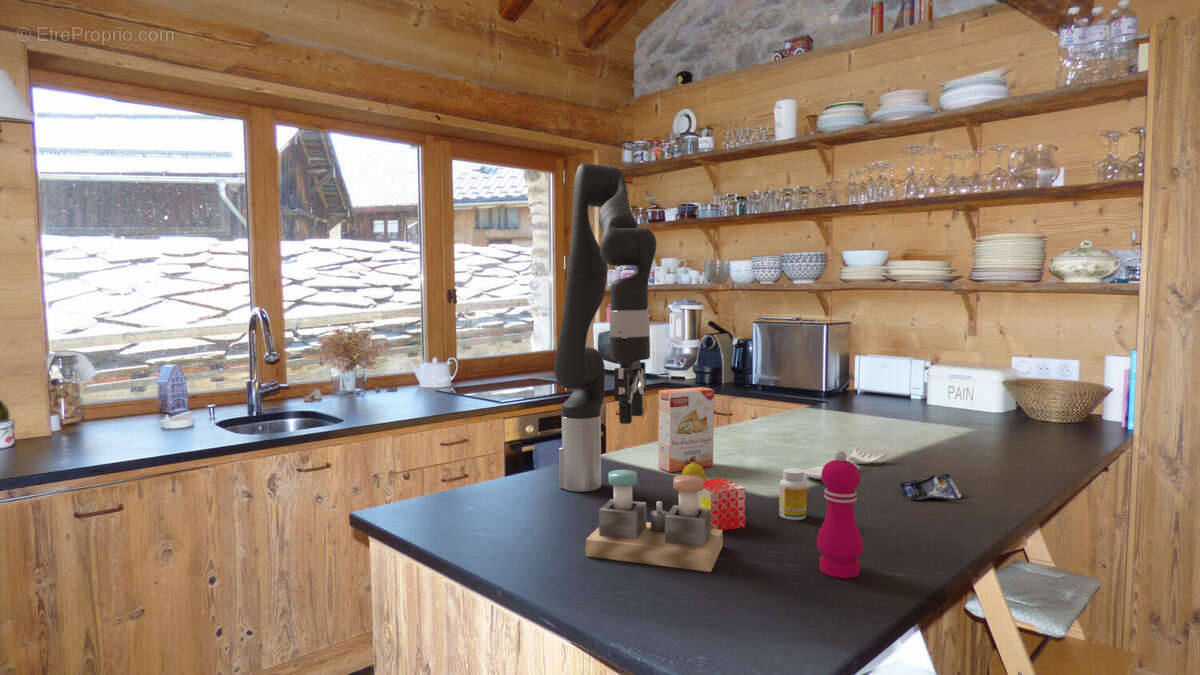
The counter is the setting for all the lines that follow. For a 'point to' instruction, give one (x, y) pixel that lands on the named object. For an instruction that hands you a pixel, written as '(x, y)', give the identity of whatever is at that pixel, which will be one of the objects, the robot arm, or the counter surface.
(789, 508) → the supplement bottle
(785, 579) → the counter surface
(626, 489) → the knob left
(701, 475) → the lemon
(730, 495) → the red patterned cube box
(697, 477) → the knob right
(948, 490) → the snack package
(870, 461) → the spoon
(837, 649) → the counter surface
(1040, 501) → the counter surface
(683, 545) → the mount
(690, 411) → the cracker box
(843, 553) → the pepper mill
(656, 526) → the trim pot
